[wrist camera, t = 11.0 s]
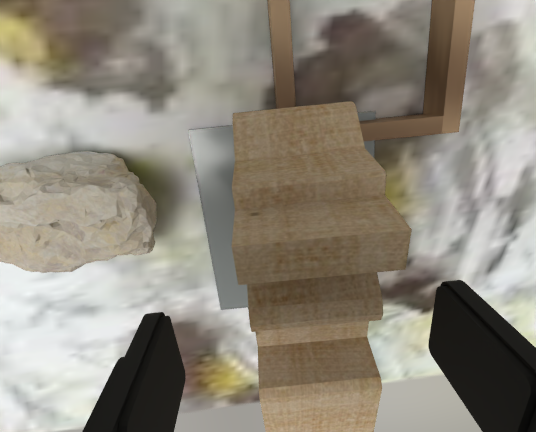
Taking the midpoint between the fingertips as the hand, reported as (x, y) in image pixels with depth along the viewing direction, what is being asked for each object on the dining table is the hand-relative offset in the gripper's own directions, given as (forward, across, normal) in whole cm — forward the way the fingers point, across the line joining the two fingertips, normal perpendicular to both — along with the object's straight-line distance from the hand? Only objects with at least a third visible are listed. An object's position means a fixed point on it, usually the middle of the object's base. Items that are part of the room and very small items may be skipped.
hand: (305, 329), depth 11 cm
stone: (+13, +14, -2) cm, 19 cm away
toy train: (+11, -1, +1) cm, 11 cm away
